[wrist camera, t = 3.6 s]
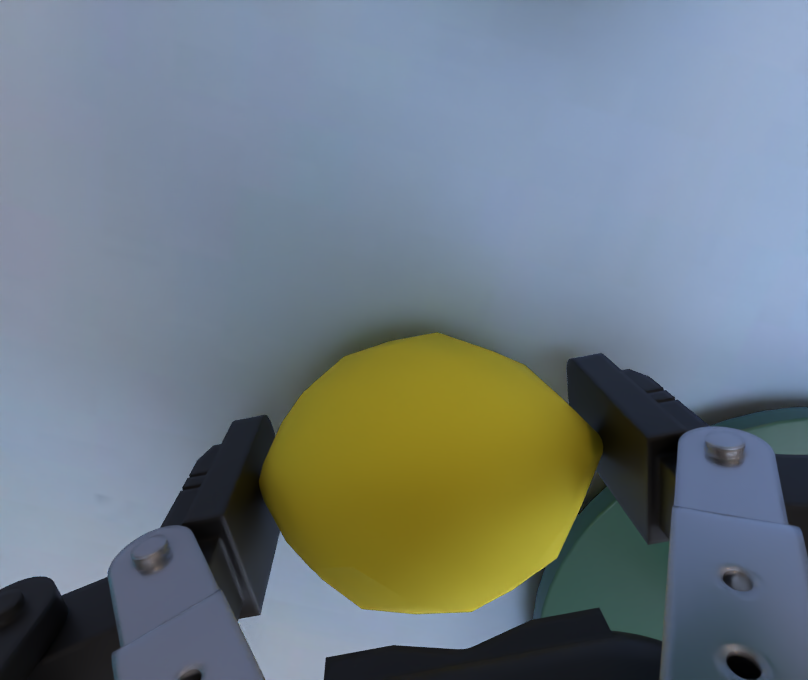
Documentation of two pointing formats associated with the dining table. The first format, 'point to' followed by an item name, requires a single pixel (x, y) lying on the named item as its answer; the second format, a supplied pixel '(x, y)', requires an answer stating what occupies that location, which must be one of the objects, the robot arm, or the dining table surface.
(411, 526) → the lemon
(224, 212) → the dining table surface
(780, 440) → the pot lid
